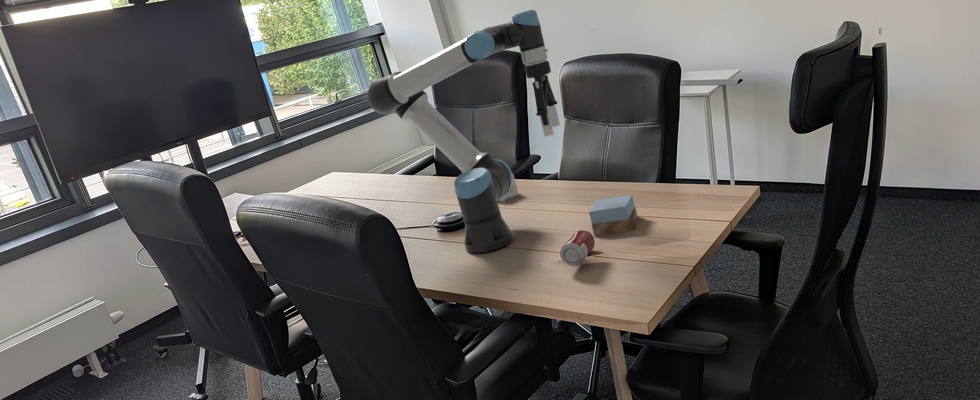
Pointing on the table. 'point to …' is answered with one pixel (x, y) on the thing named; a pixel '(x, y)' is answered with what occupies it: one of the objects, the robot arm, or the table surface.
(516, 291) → the table surface
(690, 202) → the table surface
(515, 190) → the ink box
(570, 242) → the soda can
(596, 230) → the base block
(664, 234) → the table surface
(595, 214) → the top block
